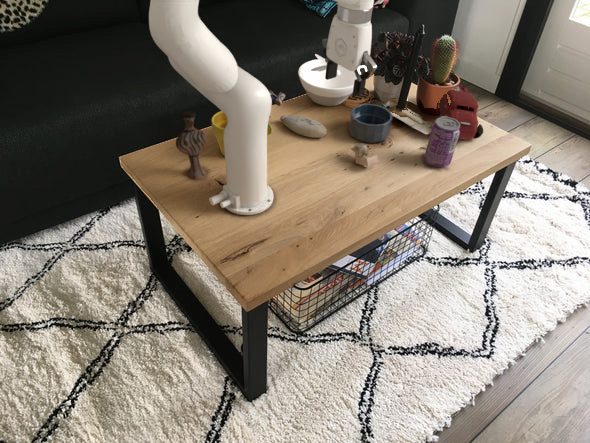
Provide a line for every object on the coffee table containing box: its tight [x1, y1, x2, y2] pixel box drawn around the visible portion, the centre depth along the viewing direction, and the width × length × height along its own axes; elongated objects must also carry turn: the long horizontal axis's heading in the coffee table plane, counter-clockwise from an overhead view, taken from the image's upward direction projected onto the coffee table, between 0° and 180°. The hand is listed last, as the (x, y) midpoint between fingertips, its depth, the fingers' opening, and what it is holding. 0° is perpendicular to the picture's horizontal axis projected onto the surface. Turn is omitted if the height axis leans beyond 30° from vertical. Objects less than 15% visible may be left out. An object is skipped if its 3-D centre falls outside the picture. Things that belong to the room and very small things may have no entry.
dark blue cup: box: [348, 103, 393, 144], centre depth 143 cm, size 12×12×6 cm
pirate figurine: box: [267, 88, 287, 137], centre depth 138 cm, size 14×13×15 cm
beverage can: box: [423, 116, 460, 168], centre depth 132 cm, size 7×7×12 cm
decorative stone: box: [279, 115, 328, 138], centre depth 143 cm, size 6×16×3 cm, turn 60°
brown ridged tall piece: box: [175, 110, 207, 180], centre depth 122 cm, size 7×5×18 cm
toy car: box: [435, 83, 484, 141], centre depth 148 cm, size 15×28×10 cm, turn 177°
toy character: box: [350, 143, 379, 168], centre depth 133 cm, size 4×8×6 cm, turn 31°
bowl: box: [297, 58, 362, 107], centre depth 156 cm, size 19×20×8 cm
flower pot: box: [211, 110, 228, 156], centre depth 132 cm, size 10×10×10 cm
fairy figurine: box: [311, 53, 340, 77], centre depth 151 cm, size 6×7×7 cm
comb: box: [390, 107, 435, 136], centre depth 148 cm, size 15×2×10 cm
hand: (344, 86), depth 120 cm, fingers open, 9 cm apart
